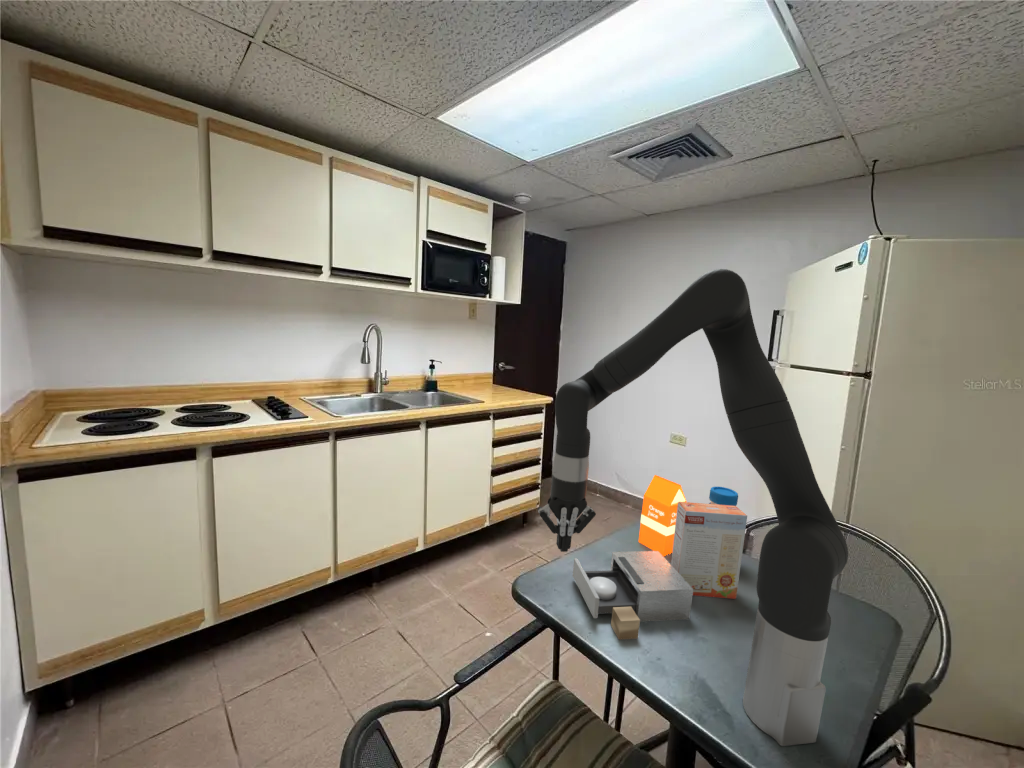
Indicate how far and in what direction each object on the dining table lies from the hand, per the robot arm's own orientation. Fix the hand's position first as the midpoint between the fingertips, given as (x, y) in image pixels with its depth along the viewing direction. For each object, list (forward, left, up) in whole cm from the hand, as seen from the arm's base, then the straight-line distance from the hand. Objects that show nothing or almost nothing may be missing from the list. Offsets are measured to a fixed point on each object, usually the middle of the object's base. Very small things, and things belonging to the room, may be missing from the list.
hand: (563, 549), depth 90 cm
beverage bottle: (+14, -48, -12) cm, 52 cm away
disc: (0, -10, -10) cm, 14 cm away
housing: (0, -21, -12) cm, 24 cm away
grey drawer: (0, -11, -11) cm, 16 cm away
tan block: (-10, -11, -12) cm, 19 cm away
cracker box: (+2, -36, -13) cm, 38 cm away
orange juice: (+22, -36, -13) cm, 44 cm away
